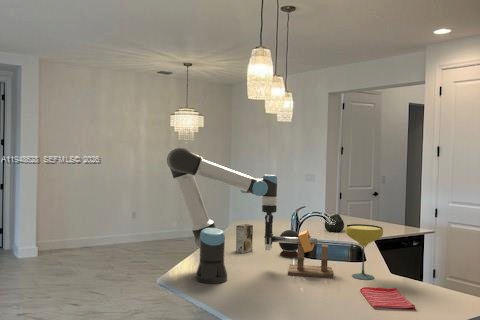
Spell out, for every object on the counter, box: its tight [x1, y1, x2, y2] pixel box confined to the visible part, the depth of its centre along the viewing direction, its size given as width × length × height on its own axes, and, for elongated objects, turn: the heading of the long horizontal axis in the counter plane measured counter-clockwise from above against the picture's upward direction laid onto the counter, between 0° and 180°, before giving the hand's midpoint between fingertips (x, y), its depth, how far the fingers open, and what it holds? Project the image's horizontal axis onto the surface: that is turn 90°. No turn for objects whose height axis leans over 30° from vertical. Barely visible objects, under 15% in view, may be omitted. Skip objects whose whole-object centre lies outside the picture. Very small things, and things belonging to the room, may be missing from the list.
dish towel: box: [359, 286, 417, 312], centre depth 187 cm, size 17×24×3 cm
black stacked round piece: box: [278, 229, 299, 258], centre depth 267 cm, size 13×13×15 cm
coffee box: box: [235, 223, 254, 254], centre depth 275 cm, size 9×6×16 cm
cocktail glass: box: [345, 223, 384, 281], centre depth 222 cm, size 18×18×25 cm
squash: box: [324, 213, 345, 233], centre depth 355 cm, size 14×15×15 cm
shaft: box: [270, 232, 318, 246], centre depth 230 cm, size 4×26×5 cm, turn 80°
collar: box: [298, 229, 315, 253], centre depth 229 cm, size 9×4×9 cm, turn 164°
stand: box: [287, 244, 334, 279], centre depth 229 cm, size 16×22×14 cm
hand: (268, 249), depth 232 cm, fingers closed on shaft, 5 cm apart
